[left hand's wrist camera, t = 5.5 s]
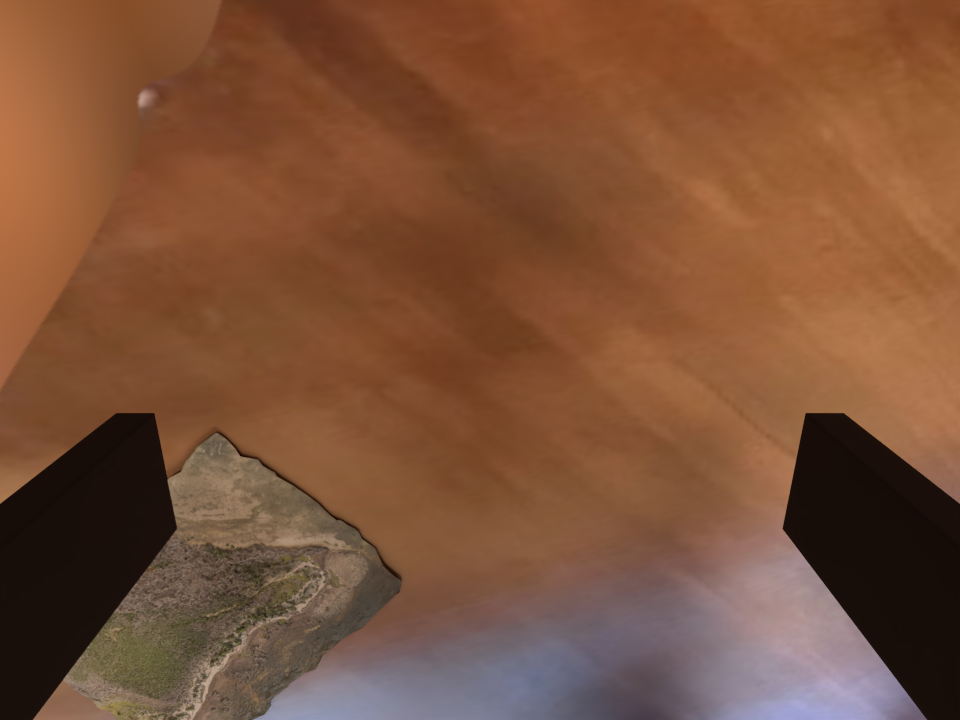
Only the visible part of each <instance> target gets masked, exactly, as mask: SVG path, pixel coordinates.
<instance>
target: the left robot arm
mask: <svg viewBox="0 0 960 720" xmlns="http://www.w3.org/2000/svg"><path fill="white" fill-rule="evenodd" d="M176 530H177V525H176V520H175V515H174V510H173V505H172V500H171V495H170V490H169V485H168V480H167V475H166V470H165V465H164V460H163V454H162V449H161V444H160V439H159V434H158V429H157V424H156V419H155V414H154V413H116V414H115V415H113V416H112V417H111V418H110V419H108V420H107V421H106V422H104V423H103V424H102V425H101V426H99V427H98V428H97V429H96V430H94V431H93V432H92V433H90V434H89V435H88V436H87V437H85V438H84V439H83V440H81V441H80V442H79V443H78V444H76V445H75V446H74V447H72V448H71V449H70V450H69V451H67V452H66V453H65V454H64V455H62V456H61V457H60V458H58V459H57V460H56V461H55V462H53V463H52V464H51V465H49V466H48V467H47V468H46V469H44V470H43V471H42V472H41V473H39V474H38V475H37V476H35V477H34V478H33V479H32V480H30V481H29V482H28V483H26V484H25V485H24V486H23V487H21V488H20V489H19V490H17V491H16V492H15V493H14V494H12V495H11V496H10V497H9V498H7V499H6V500H5V501H3V502H2V503H1V504H0V720H33V719H34V717H35V716H36V715H37V713H38V712H39V711H40V709H41V708H42V707H43V705H44V704H45V703H46V702H47V700H48V699H49V698H50V696H51V695H52V694H53V692H54V691H55V690H56V688H57V687H58V686H59V684H60V683H61V682H62V680H63V679H64V678H65V676H66V675H67V674H68V672H69V671H70V670H71V669H72V667H73V666H74V665H75V663H76V662H77V661H78V659H79V658H80V657H81V655H82V654H83V653H84V651H85V650H86V649H87V647H88V646H89V645H90V643H91V642H92V641H93V639H94V638H95V637H96V635H97V634H98V633H99V632H100V630H101V629H102V628H103V626H104V625H105V624H106V622H107V621H108V620H109V618H110V617H111V616H112V614H113V613H114V612H115V610H116V609H117V608H118V606H119V605H120V604H121V602H122V601H123V600H124V599H125V597H126V596H127V595H128V593H129V592H130V591H131V589H132V588H133V587H134V585H135V584H136V583H137V581H138V580H139V579H140V577H141V576H142V575H143V573H144V572H145V571H146V569H147V568H148V567H149V566H150V564H151V563H152V562H153V560H154V559H155V558H156V556H157V555H158V554H159V552H160V551H161V550H162V548H163V547H164V546H165V544H166V543H167V542H168V540H169V539H170V538H171V536H172V535H173V534H174V532H175V531H176ZM783 530H784V531H785V532H786V534H787V535H788V536H789V538H790V539H791V540H792V542H793V543H794V544H795V546H796V547H797V548H798V550H799V551H800V552H801V554H802V555H803V556H804V558H805V559H806V560H807V562H808V563H809V564H810V566H811V567H812V568H813V569H814V571H815V572H816V573H817V575H818V576H819V577H820V579H821V580H822V581H823V583H824V584H825V585H826V587H827V588H828V589H829V591H830V592H831V593H832V595H833V596H834V597H835V599H836V600H837V601H838V602H839V604H840V605H841V606H842V608H843V609H844V610H845V612H846V613H847V614H848V616H849V617H850V618H851V620H852V621H853V622H854V624H855V625H856V626H857V628H858V629H859V630H860V632H861V633H862V634H863V635H864V637H865V638H866V639H867V641H868V642H869V643H870V645H871V646H872V647H873V649H874V650H875V651H876V653H877V654H878V655H879V657H880V658H881V659H882V661H883V662H884V663H885V665H886V666H887V667H888V669H889V670H890V671H891V672H892V674H893V675H894V676H895V678H896V679H897V680H898V682H899V683H900V684H901V686H902V687H903V688H904V690H905V691H906V692H907V694H908V695H909V696H910V698H911V699H912V700H913V702H914V703H915V704H916V705H917V707H918V708H919V709H920V711H921V712H922V713H923V715H924V716H925V717H926V719H927V720H960V504H959V503H958V502H957V501H955V500H954V499H953V498H951V497H950V496H949V495H948V494H946V493H945V492H944V491H943V490H941V489H940V488H939V487H937V486H936V485H935V484H934V483H932V482H931V481H930V480H928V479H927V478H926V477H925V476H923V475H922V474H921V473H919V472H918V471H917V470H916V469H914V468H913V467H912V466H911V465H909V464H908V463H907V462H905V461H904V460H903V459H902V458H900V457H899V456H898V455H896V454H895V453H894V452H893V451H891V450H890V449H889V448H887V447H886V446H885V445H884V444H882V443H881V442H880V441H879V440H877V439H876V438H875V437H873V436H872V435H871V434H870V433H868V432H867V431H866V430H864V429H863V428H862V427H861V426H859V425H858V424H857V423H856V422H854V421H853V420H852V419H850V418H849V417H848V416H847V415H845V414H844V413H806V414H805V419H804V424H803V429H802V434H801V439H800V444H799V449H798V454H797V459H796V465H795V470H794V475H793V480H792V485H791V490H790V495H789V500H788V505H787V510H786V515H785V520H784V525H783Z"/></svg>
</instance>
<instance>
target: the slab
mask: <svg viewBox="0 0 960 720" xmlns="http://www.w3.org/2000/svg"><path fill="white" fill-rule="evenodd" d="M168 485H169V490H170V495H171V500H172V505H173V510H174V515H175V520H176V525H177V530H176V531H175V532H174V534H173V535H172V536H171V538H170V539H169V540H168V542H167V543H166V544H165V546H164V547H163V548H162V550H161V551H160V552H159V554H158V555H157V556H156V558H155V559H154V560H153V562H152V563H151V564H150V566H149V567H148V568H147V569H146V571H145V572H144V573H143V575H142V576H141V577H140V579H139V580H138V581H137V583H136V584H135V585H134V587H133V588H132V589H131V591H130V592H129V593H128V595H127V596H126V597H125V599H124V600H123V601H122V602H121V604H120V605H119V606H118V608H117V609H116V610H115V612H114V613H113V614H112V616H111V617H110V618H109V620H108V621H107V622H106V624H105V625H104V626H103V628H102V629H101V630H100V632H99V633H98V634H97V635H96V637H95V638H94V639H93V641H92V642H91V643H90V645H89V646H88V647H87V649H86V650H85V651H84V653H83V654H82V655H81V657H80V658H79V659H78V661H77V662H76V663H75V665H74V666H73V667H72V669H71V670H70V671H69V672H68V674H67V675H66V676H65V678H64V679H63V680H64V681H65V682H66V683H68V684H69V685H70V686H71V687H72V688H73V689H74V690H75V691H76V692H78V693H80V694H82V695H84V696H86V697H88V698H90V699H92V701H93V702H94V703H95V705H96V706H97V707H98V708H99V709H103V710H106V711H110V712H112V713H113V714H114V716H115V717H116V718H117V720H253V719H255V718H257V717H260V716H262V715H264V714H265V713H266V712H267V710H268V709H269V707H270V706H271V705H269V702H270V701H271V700H272V699H273V698H274V697H275V696H276V695H277V694H279V693H280V692H281V691H283V690H284V689H285V688H286V687H288V685H289V684H290V683H291V682H292V681H294V680H295V679H297V678H298V677H300V676H301V675H303V674H305V673H307V672H309V671H312V670H314V669H316V667H317V665H318V663H319V661H320V659H321V657H322V656H323V655H324V654H325V653H326V652H327V651H329V650H330V649H331V648H332V647H333V646H335V645H336V644H337V643H338V642H339V641H340V640H341V639H343V638H345V637H346V636H348V635H350V634H351V633H353V632H355V631H357V630H359V629H361V628H363V626H364V625H365V624H366V623H367V622H368V621H369V620H370V619H371V618H372V617H373V616H374V615H375V614H376V612H377V611H379V610H380V609H381V608H382V607H383V606H384V605H385V604H386V603H387V602H388V601H390V600H391V599H392V598H393V597H394V596H395V595H396V594H397V593H399V591H400V586H401V580H399V579H398V578H396V577H394V576H393V575H392V574H391V573H390V572H389V571H388V570H387V569H386V568H384V567H383V564H382V562H381V560H380V558H379V556H378V554H377V551H376V549H375V548H374V547H373V546H371V545H370V544H368V543H367V542H366V541H364V540H363V539H362V538H361V536H360V534H359V532H358V531H357V530H356V529H355V528H353V527H351V526H349V525H347V524H345V523H344V522H343V521H341V520H336V519H334V518H333V517H332V516H330V515H329V514H328V513H327V512H326V511H325V510H324V509H323V508H322V507H321V506H320V505H319V504H318V503H317V502H316V501H314V500H313V499H312V498H310V497H309V496H307V495H306V494H304V493H303V492H302V491H300V490H299V489H297V488H296V487H294V486H293V485H291V484H289V483H288V482H286V481H284V480H282V479H281V478H279V477H277V476H276V474H275V472H273V471H271V470H269V469H267V468H265V467H264V466H262V464H261V463H260V461H259V460H258V459H252V458H246V457H240V455H239V454H238V452H237V451H236V449H235V448H234V447H233V446H232V445H231V444H230V443H229V441H228V440H227V439H225V438H224V437H222V436H221V435H220V434H218V433H215V434H213V435H212V436H211V437H209V438H208V439H207V440H205V441H204V442H203V443H202V444H200V445H199V446H198V447H197V448H196V449H195V451H194V453H193V454H192V455H191V456H190V457H189V458H188V460H187V461H186V462H185V464H184V466H183V468H182V471H181V472H179V473H178V474H176V475H174V476H172V477H170V478H169V479H168Z"/></svg>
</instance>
